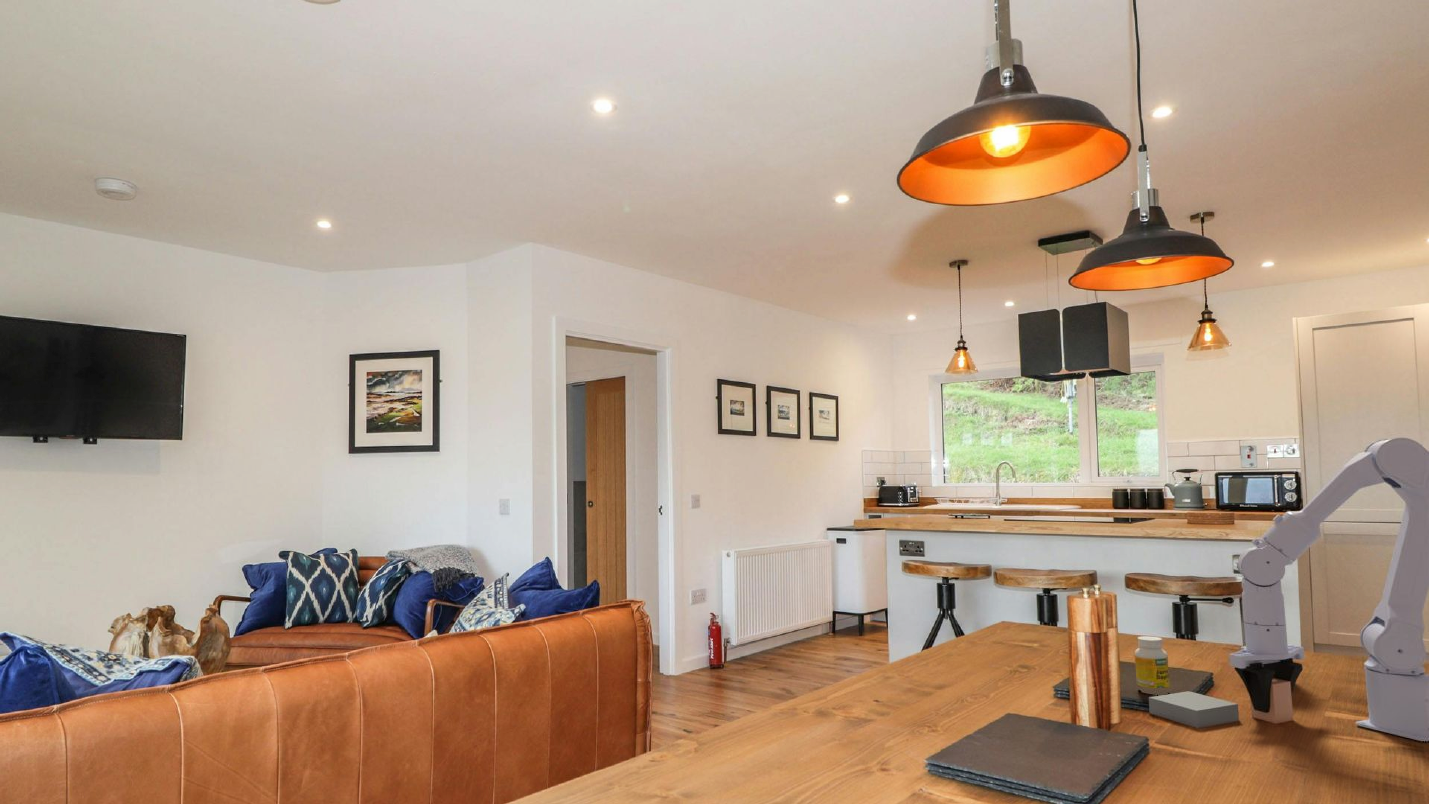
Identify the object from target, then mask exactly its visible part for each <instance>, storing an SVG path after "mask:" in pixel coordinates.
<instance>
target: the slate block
mask: <svg viewBox="0 0 1429 804" xmlns="http://www.w3.org/2000/svg"><path fill="white" fill-rule="evenodd" d="M1148 706H1149V707H1148V708H1149V714H1150V715H1154V716H1157V717H1160V718H1164V719H1166V720H1167V719H1168V720H1171V721H1174V722H1178V723H1181V724H1184V725H1187V726H1189V727H1190V726H1191V727H1193V728H1196V729H1199V728H1205V727H1211V726H1216V725H1217V726H1218V725H1221V724H1229V723H1234V722H1240V714H1239V713H1240V712H1239V704H1238V703H1236V702H1233V701H1229V700H1225V699H1221V698H1220V699H1219V698H1216V697H1213V696H1208V695H1204V694H1201V693H1197V692H1192V691H1190V690H1189V691H1181V692H1174V693H1169V694H1167V695H1158V696H1157V695H1153V696H1149V697H1148Z"/></svg>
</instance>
